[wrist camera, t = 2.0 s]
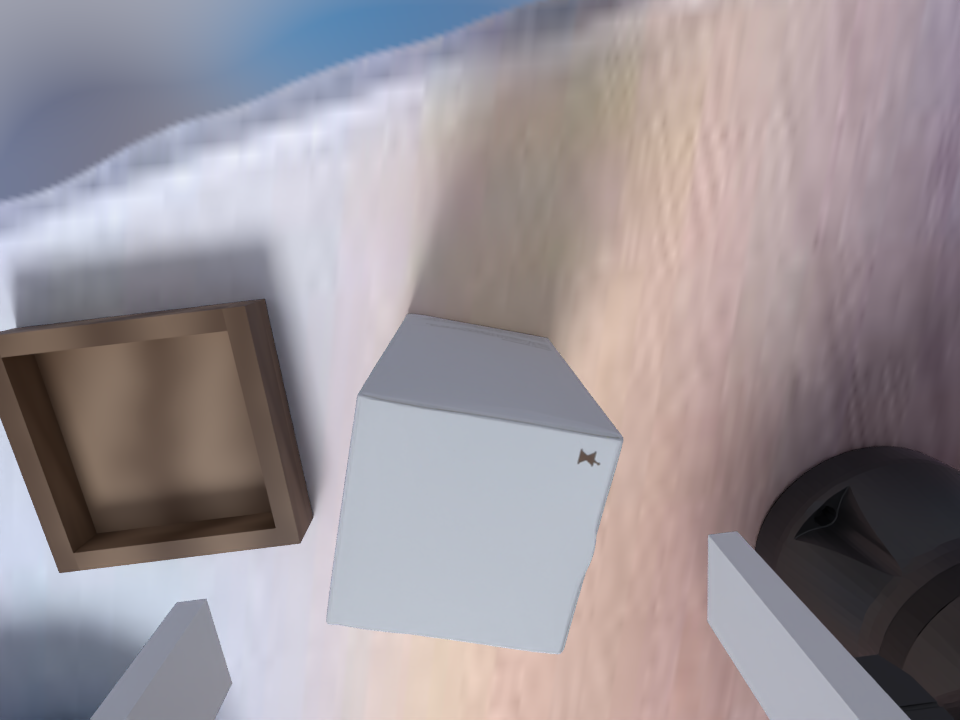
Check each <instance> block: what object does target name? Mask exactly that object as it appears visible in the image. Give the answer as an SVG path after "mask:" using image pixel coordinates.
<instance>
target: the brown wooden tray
mask: <svg viewBox="0 0 960 720" xmlns="http://www.w3.org/2000/svg"><path fill="white" fill-rule="evenodd" d="M0 418H1V421H2V423H3V426H4V429H5V431H6V434H7V437H8V439H9V442H10V444H11V447H12V450H13V452H14V455H15V458H16V460H17V463H18V466H19V468H20V471H21V473H22V476H23V479H24V481H25V484H26V487H27V489H28V492H29V494H30V497H31V500H32V502H33V505H34V508H35V510H36V513H37V515H38V518H39V521H40V523H41V526H42V529H43V531H44V534H45V536H46V539H47V542H48V544H49V547H50V550H51V552H52V555H53V557H54V560H55V563H56V565H57V568H58V571H59V573H64V572H72V571H80V570H88V569H96V568H105V567H113V566H121V565H129V564H137V563H145V562H153V561H161V560H170V559H178V558H186V557H194V556H202V555H210V554H218V553H226V552H235V551H243V550H251V549H259V548H267V547H275V546H283V545H291V544H300V543H301V541H302V539H303V537H304V535H305V533H306V531H307V529H308V527H309V525H310V523H311V521H312V519H313V514H312V509H311V505H310V500H309V496H308V491H307V487H306V482H305V478H304V473H303V469H302V464H301V460H300V455H299V451H298V446H297V442H296V437H295V433H294V428H293V424H292V420H291V415H290V411H289V406H288V402H287V397H286V393H285V388H284V384H283V379H282V375H281V370H280V366H279V361H278V357H277V352H276V348H275V343H274V339H273V334H272V330H271V325H270V321H269V316H268V312H267V307H266V303H265V299H260V300H251V301H243V302H234V303H226V304H217V305H209V306H200V307H192V308H183V309H175V310H166V311H158V312H149V313H141V314H132V315H124V316H115V317H107V318H98V319H90V320H81V321H73V322H64V323H56V324H47V325H39V326H30V327H22V328H14V329H10V330H5V331H1V332H0Z"/></svg>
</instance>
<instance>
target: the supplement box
mask: <svg viewBox="0 0 960 720" xmlns="http://www.w3.org/2000/svg"><path fill="white" fill-rule="evenodd" d="M622 443H623V437H622V435H621V434H620V433H619V431H618V430H617V429H616V428H615V426H614V425H613V424H612V422H611V421H610V420H609V418H608V417H607V416H606V414H605V413H604V412H603V411H602V409H601V408H600V406H599V405H598V404H597V403H596V401H595V400H594V399H593V397H592V396H591V395H590V393H589V392H588V391H587V389H586V388H585V387H584V385H583V384H582V383H581V381H580V380H579V379H578V377H577V376H576V375H575V373H574V372H573V371H572V370H571V368H570V367H569V365H568V364H567V363H566V361H565V360H564V359H563V358H562V356H561V355H560V353H559V352H558V351H557V349H556V348H555V347H554V346H553V344H552V343H551V342H550V340H549V339H548V338H545V337H540V336H534V335H529V334H523V333H518V332H513V331H507V330H502V329H496V328H491V327H485V326H480V325H474V324H469V323H464V322H458V321H453V320H448V319H442V318H437V317H432V316H425V315H419V314H407V315H406V317H405V319H404V321H403V322H402V324H401V326H400V327H399V329H398V330H397V332H396V334H395V335H394V337H393V338H392V340H391V342H390V343H389V345H388V347H387V348H386V350H385V351H384V353H383V354H382V356H381V358H380V359H379V361H378V363H377V364H376V366H375V367H374V369H373V370H372V372H371V374H370V375H369V377H368V379H367V380H366V382H365V384H364V385H363V387H362V389H361V390H360V392H359V393H358V396H357V401H356V408H355V415H354V422H353V429H352V436H351V442H350V449H349V456H348V463H347V470H346V477H345V484H344V491H343V498H342V505H341V512H340V519H339V526H338V534H337V541H336V548H335V555H334V562H333V570H332V577H331V585H330V592H329V600H328V608H327V617H326V622H327V624H330V625H342V626H348V627H354V628H360V629H366V630H374V631H383V632H392V633H402V634H412V635H419V636H426V637H433V638H441V639H449V640H456V641H462V642H469V643H476V644H483V645H489V646H495V647H503V648H510V649H517V650H524V651H531V652H540V653H550V654H560V653H561V652H562V651H563V650H564V647H565V643H566V640H567V636H568V632H569V629H570V625H571V622H572V618H573V615H574V611H575V608H576V604H577V601H578V597H579V594H580V590H581V587H582V583H583V580H584V577H585V573H586V571H587V569H588V567H589V565H590V562H591V560H592V557H593V553H594V550H595V544H596V535H597V531H598V528H599V525H600V521H601V517H602V513H603V510H604V506H605V503H606V499H607V496H608V493H609V490H610V486H611V483H612V480H613V476H614V473H615V469H616V466H617V462H618V458H619V455H620V451H621V448H622Z"/></svg>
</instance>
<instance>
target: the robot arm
mask: <svg viewBox="0 0 960 720" xmlns="http://www.w3.org/2000/svg"><path fill="white" fill-rule="evenodd" d="M708 623H709V625H710V626H711V628H712V629H713V631H714V633H715V634H716V636H717V637H718V639H719V640H720V642H721V643H722V645H723V647H724V648H725V650H726V651H727V653H728V654H729V656H730V658H731V659H732V661H733V662H734V664H735V665H736V667H737V669H738V670H739V672H740V673H741V675H742V676H743V678H744V680H745V681H746V683H747V684H748V686H749V687H750V689H751V691H752V692H753V694H754V695H755V697H756V698H757V700H758V702H759V703H760V705H761V706H762V708H763V709H764V711H765V713H766V714H767V716H768V717H769V719H770V720H960V471H958V470H956V469H954V468H952V467H950V466H948V465H946V464H944V463H942V462H940V461H938V460H936V459H934V458H932V457H930V456H928V455H926V454H923V453H920V452H918V451H914V450H911V449H906V448H900V447H889V446H884V447H869V448H863V449H858V450H854V451H851V452H847V453H844V454H841V455H839V456H836V457H834V458H831V459H829V460H827V461H825V462H823V463H821V464H819V465H818V466H816V467H814V468H813V469H811V470H810V471H808V472H807V473H805V474H804V475H803V476H801V477H800V478H799V479H798V480H797V481H795V482H794V483H793V484H792V485H791V486H790V487H789V488H788V489H787V490H786V491H785V492H784V493H783V494H782V495H781V497H780V498H779V499H778V500H777V502H776V503H775V504H774V506H773V507H772V509H771V510H770V512H769V514H768V515H767V517H766V519H765V521H764V523H763V525H762V528H761V530H760V533H759V536H758V539H757V543H756V547H755V550H754V549H753V548H752V547H751V546H750V545H749V544H748V543H747V542H746V540H745V539H744V538H743V537H742V536H741V535H740V534H739V533H738V532H737V531H735V532H727V533H719V534H711V535H708ZM231 685H232V681H231V678H230V675H229V672H228V668H227V665H226V662H225V658H224V655H223V652H222V648H221V645H220V642H219V639H218V635H217V632H216V629H215V625H214V622H213V619H212V616H211V612H210V609H209V606H208V602H207V599H200V600H192V601H184V602H177V603H176V604H175V605H174V607H173V608H172V609H171V611H170V612H169V613H168V615H167V616H166V617H165V619H164V620H163V621H162V623H161V624H160V626H159V627H158V628H157V630H156V631H155V632H154V634H153V635H152V636H151V638H150V639H149V640H148V642H147V643H146V644H145V646H144V647H143V648H142V650H141V651H140V652H139V654H138V655H137V656H136V658H135V659H134V660H133V662H132V663H131V664H130V666H129V667H128V669H127V670H126V671H125V673H124V674H123V675H122V677H121V678H120V679H119V681H118V682H117V683H116V685H115V686H114V687H113V689H112V690H111V691H110V693H109V694H108V695H107V697H106V698H105V699H104V701H103V702H102V703H101V705H100V706H99V708H98V709H97V710H96V712H95V713H94V714H93V716H92V717H91V718H90V720H214V719H215V717H216V715H217V713H218V711H219V709H220V707H221V705H222V703H223V701H224V699H225V697H226V695H227V693H228V691H229V689H230V687H231Z"/></svg>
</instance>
